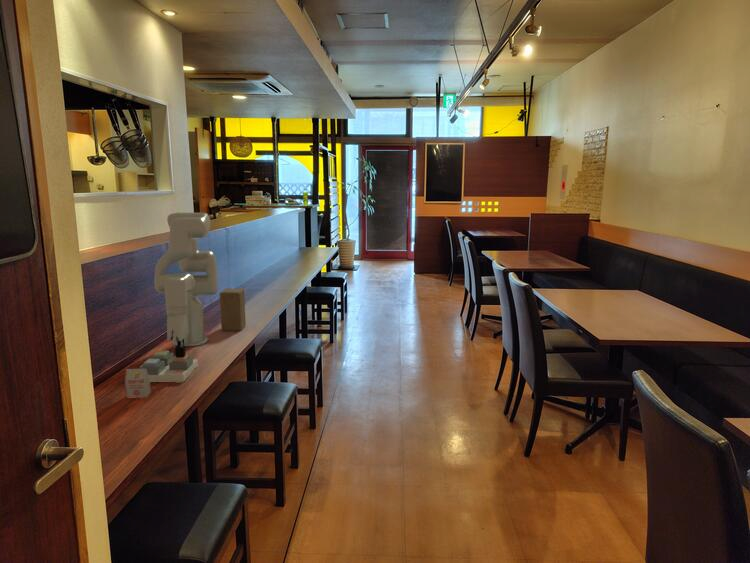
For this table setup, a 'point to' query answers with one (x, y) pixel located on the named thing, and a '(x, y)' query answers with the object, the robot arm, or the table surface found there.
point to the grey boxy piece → (137, 383)
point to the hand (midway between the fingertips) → (180, 356)
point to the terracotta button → (180, 359)
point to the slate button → (152, 362)
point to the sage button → (161, 354)
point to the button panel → (170, 369)
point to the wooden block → (232, 309)
